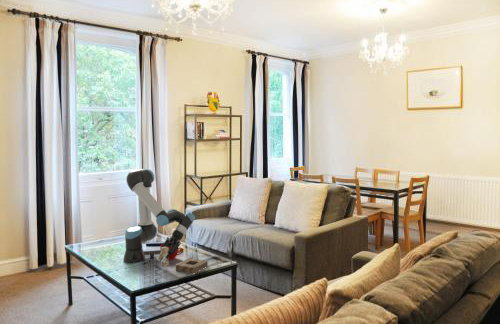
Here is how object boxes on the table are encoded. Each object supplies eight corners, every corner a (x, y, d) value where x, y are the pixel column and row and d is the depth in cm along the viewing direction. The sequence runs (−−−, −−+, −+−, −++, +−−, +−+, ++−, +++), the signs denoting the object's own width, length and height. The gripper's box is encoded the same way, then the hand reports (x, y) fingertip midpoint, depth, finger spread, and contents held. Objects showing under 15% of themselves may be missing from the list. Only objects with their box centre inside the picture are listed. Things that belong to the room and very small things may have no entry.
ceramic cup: (179, 262, 300) (179, 249, 299) (157, 261, 303) (157, 247, 302) (186, 256, 312) (186, 243, 311) (164, 255, 316) (164, 242, 315)
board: (175, 270, 285) (175, 264, 284) (189, 263, 299) (189, 257, 298) (194, 274, 278) (194, 268, 278) (207, 266, 292) (207, 260, 292)
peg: (159, 265, 286) (159, 248, 285) (164, 263, 290) (164, 246, 289) (165, 266, 284) (165, 249, 282) (170, 264, 288) (170, 247, 287)
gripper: (191, 237, 291) (172, 267, 280) (174, 232, 302) (155, 260, 292) (185, 231, 286) (165, 261, 276) (168, 226, 298) (149, 255, 287)
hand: (160, 261), depth 284 cm, fingers closed on peg, 5 cm apart
